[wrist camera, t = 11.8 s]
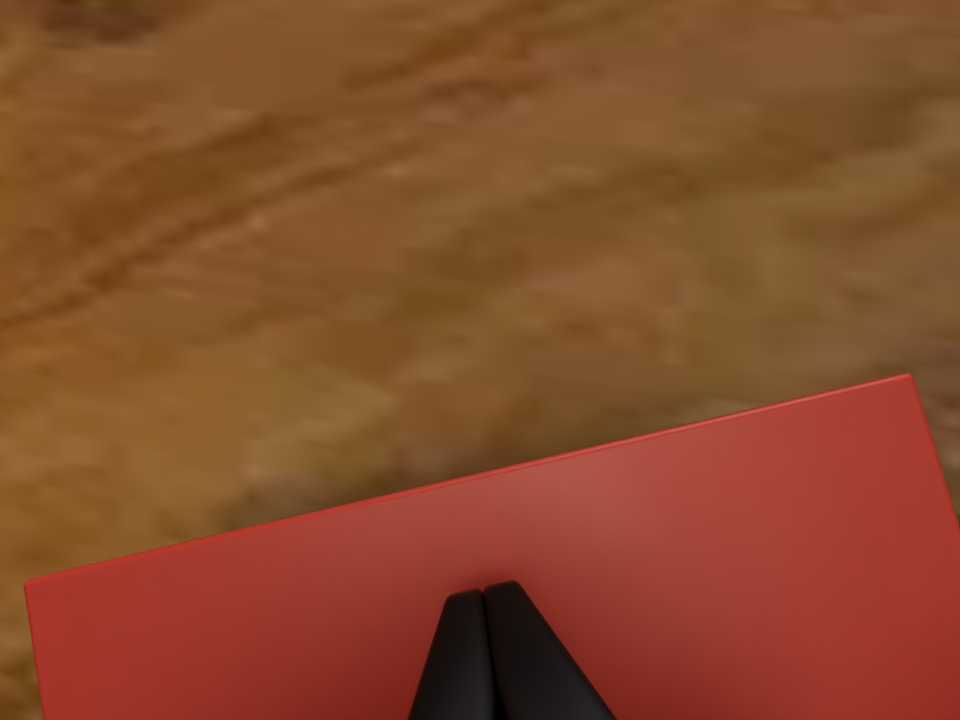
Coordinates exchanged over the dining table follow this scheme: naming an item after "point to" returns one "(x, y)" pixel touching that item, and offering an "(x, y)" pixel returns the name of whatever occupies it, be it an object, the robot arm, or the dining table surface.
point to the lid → (561, 582)
